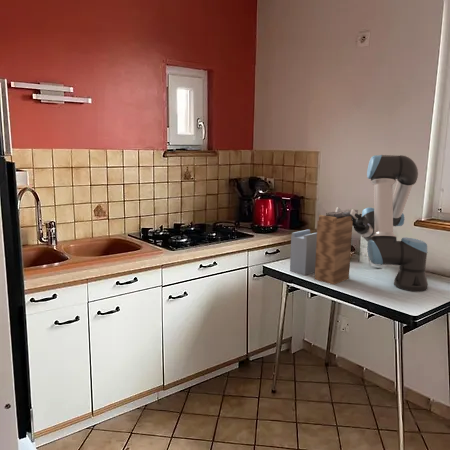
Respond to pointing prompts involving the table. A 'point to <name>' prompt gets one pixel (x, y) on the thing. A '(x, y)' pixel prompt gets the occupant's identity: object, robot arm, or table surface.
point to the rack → (303, 252)
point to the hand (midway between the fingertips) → (344, 210)
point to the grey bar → (341, 213)
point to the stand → (333, 249)
